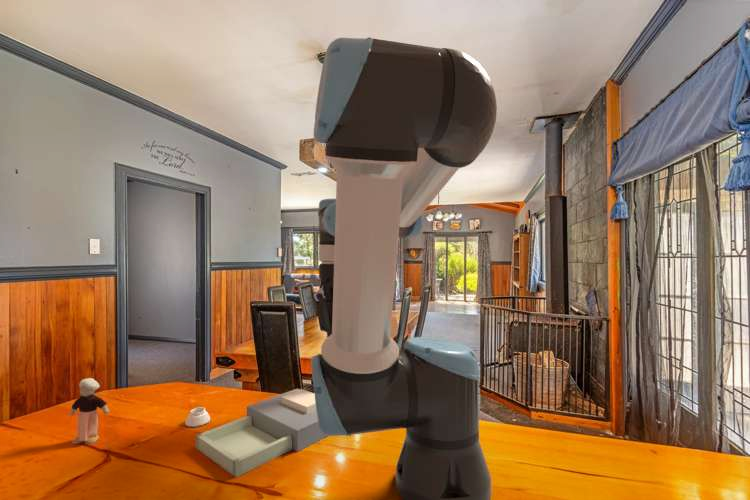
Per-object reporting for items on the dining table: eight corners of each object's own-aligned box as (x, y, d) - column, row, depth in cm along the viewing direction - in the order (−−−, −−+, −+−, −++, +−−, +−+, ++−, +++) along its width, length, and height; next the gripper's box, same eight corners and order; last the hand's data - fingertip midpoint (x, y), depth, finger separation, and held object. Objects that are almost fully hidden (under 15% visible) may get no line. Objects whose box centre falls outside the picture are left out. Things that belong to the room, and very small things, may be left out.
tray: (291, 449, 71) (291, 436, 71) (235, 477, 63) (235, 462, 63) (249, 426, 81) (249, 415, 81) (195, 448, 72) (195, 435, 72)
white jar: (215, 420, 85) (198, 417, 87) (215, 407, 85) (198, 404, 87) (197, 429, 80) (180, 426, 82) (197, 416, 80) (180, 412, 82)
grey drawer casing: (348, 425, 81) (348, 407, 81) (297, 451, 71) (297, 430, 71) (297, 404, 93) (297, 388, 93) (246, 424, 82) (246, 406, 82)
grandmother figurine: (60, 447, 73) (61, 383, 73) (72, 438, 77) (72, 376, 77) (105, 443, 74) (105, 380, 75) (114, 434, 78) (114, 374, 78)
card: (328, 404, 83) (328, 398, 83) (307, 413, 78) (307, 407, 78) (302, 395, 89) (302, 389, 89) (281, 402, 84) (281, 396, 84)
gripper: (342, 261, 98) (342, 350, 98) (303, 263, 88) (304, 361, 89) (363, 262, 94) (363, 355, 94) (324, 263, 84) (325, 368, 84)
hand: (334, 358), depth 91 cm, fingers closed
